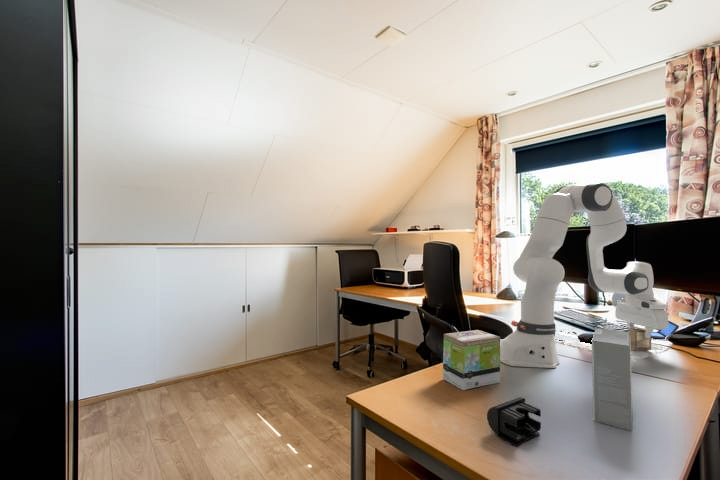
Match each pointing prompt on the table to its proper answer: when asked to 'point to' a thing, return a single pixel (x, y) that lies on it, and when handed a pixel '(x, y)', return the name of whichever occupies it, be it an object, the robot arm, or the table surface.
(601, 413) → the hard drive box
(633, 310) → the robot arm
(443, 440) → the table surface
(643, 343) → the brown rectangular block
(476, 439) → the table surface
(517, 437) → the end cap
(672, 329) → the handheld game console
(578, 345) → the carpet tile
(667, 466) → the table surface
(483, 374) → the tea box
